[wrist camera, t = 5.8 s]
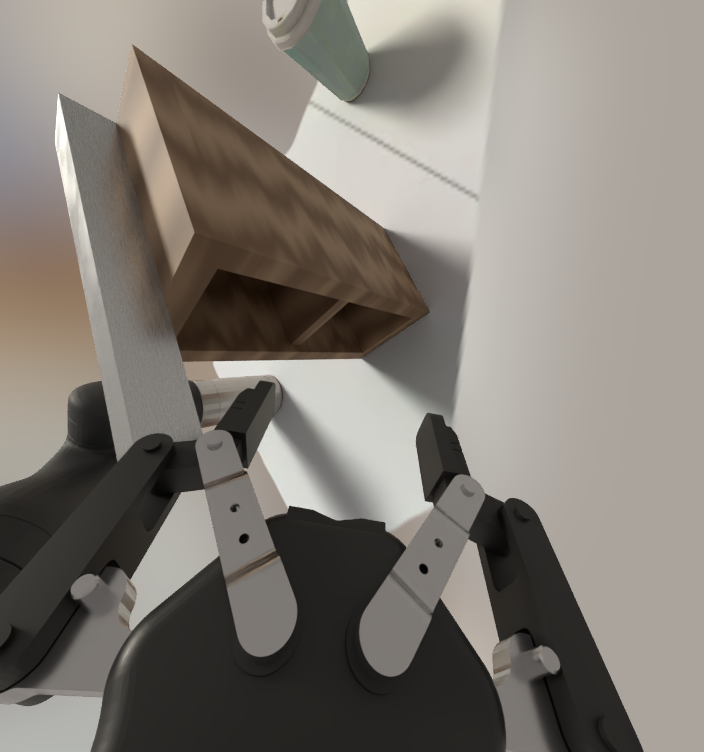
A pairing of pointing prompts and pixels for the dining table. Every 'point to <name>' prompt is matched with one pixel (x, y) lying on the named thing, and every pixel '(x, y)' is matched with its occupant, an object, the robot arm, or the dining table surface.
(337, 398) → the dining table surface
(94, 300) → the metal bar
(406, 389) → the dining table surface
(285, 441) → the dining table surface
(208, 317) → the walnut shelf
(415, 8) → the dining table surface
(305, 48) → the disposable coffee cup
